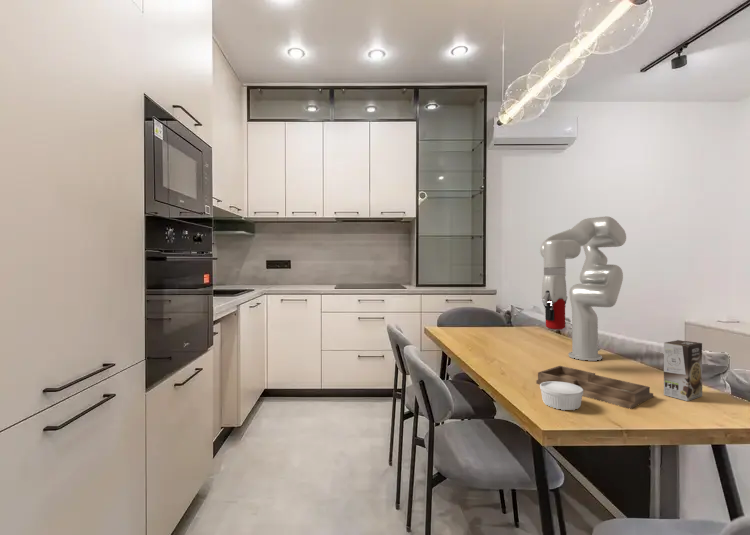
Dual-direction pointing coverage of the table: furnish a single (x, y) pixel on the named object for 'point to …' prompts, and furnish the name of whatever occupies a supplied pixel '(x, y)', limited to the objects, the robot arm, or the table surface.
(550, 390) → the ramekin
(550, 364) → the table surface
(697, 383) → the coffee box
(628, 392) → the brown wooden tray
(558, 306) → the beverage can
